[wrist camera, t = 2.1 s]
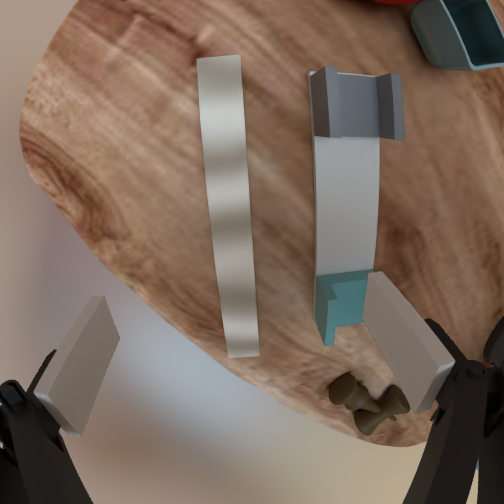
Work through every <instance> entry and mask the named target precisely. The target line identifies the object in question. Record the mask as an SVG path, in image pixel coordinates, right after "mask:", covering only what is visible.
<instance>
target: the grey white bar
mask: <svg viewBox="0 0 504 504" xmlns="http://www.w3.org/2000/svg"><path fill="white" fill-rule="evenodd" d="M197 76H198V92H199V106H200V120H201V133H202V145H203V156H204V167H205V177H206V188H207V197H208V207H209V216H210V225H211V234H212V242H213V251H214V259H215V267H216V274H217V282H218V290H219V297H220V304H221V311H222V318H223V325H224V332H225V338H226V345H227V351H228V358H237V357H251V356H260V354H259V339H258V323H257V307H256V292H255V276H254V260H253V245H252V229H251V214H250V198H249V183H248V167H247V152H246V137H245V121H244V106H243V91H242V76H241V60H240V55H230V56H218V57H208V58H200V59H197Z"/></svg>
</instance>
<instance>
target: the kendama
mask: <svg viewBox="0 0 504 504" xmlns="http://www.w3.org/2000/svg"><path fill="white" fill-rule="evenodd" d="M329 399H330V401H331V402H332V403H333V404H335V405H342V404H345V406H346V408H347V409H348V410H356V409H358V408H360V409H365V410H361V411H357V412H355V413H354V421H355V424H356V426H357V428H358V429H359V431H360V432H361V433H363V434H364V435H367V436H369V435H371V434H372V433H373V432H374V430H375V429H376V427H377V426H378V424H379V423H381V422H382V421H383V420H385V419H386V418H389V419H391V420H394V421H396V420H397V419H396V418H395V417H394V416H393V415H395V414H403V413H408V412H409V411H410V405H409V403H408V400H407V399H406V397H405V395H404V394H403V392H402V391H401V390H400V389H399V388H398V387H396V386H392V387H391V388H390V390H389V392H388V394H387V396H386V398H385V400H384V401H383V402H381V403H380V404H379V405H377V404H376V403H375V402H374V401H373V400H372V399H371V398H370V397H369V393H368V389H367V388H366V387H365V386H363V385H357V381H356V379H355V377H354V376H352V375H350V374H345V375H342V376H341V377H339V378H337V379H336V380H335V381H334V382H333V383H332V385H331V386H330V389H329Z"/></svg>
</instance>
